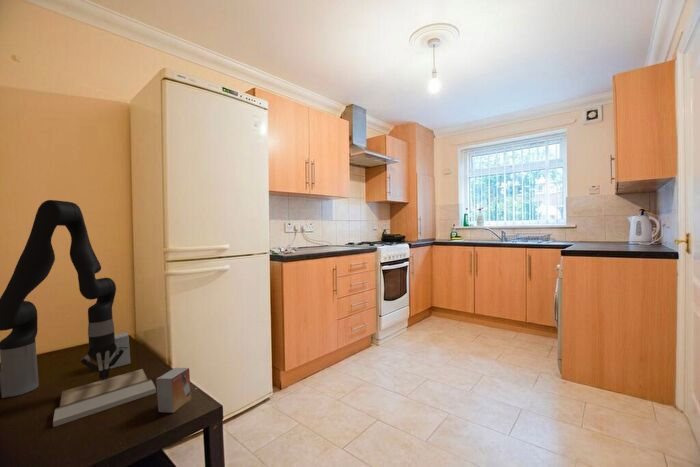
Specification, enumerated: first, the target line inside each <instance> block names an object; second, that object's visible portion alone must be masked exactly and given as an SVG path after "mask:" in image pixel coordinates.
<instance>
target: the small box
mask: <svg viewBox="0 0 700 467" xmlns="http://www.w3.org/2000/svg"><path fill="white" fill-rule="evenodd" d="M190 378H191V375H190V367H174V368H172V369H171V370H169V371H168V372H165V373H163V374H162V375H160V376H158V377H156V378H155V380H156V382H155V383H156V394H157V396H156V397H157V409H158V412H159V413H170V414H171V413H175V412H176V411H177V410H179V409H180V408H181V407H183V406H185V405H186V404H187V403H188V402H190V401H191V400H192V393H191V392H192V390H191V379H190Z"/></svg>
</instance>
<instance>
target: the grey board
mask: <svg viewBox="0 0 700 467" xmlns="http://www.w3.org/2000/svg"><path fill="white" fill-rule="evenodd" d="M153 394H157V387H156V385H155V384H154V382H153V380H152V379H148V380H147V381H143V382H140V383H137V384H134V385H130V386H127V387H124V388H121V389H117V390H114V391H111V392H108V393H104V394H101V395H98V396H94V397H91V398H88V399H85V400H81V401H78V402H75V403H72V404H68V405H65V406H62V407H60V406H59V407H56V408H55V409H54V414H53V420H52V425H53V426H52V428H54V427H55V428H56V427H58V426H60V425H64V424H67V423H70V422H73V421H76V420H79V419H82V418H84V417H87V416H91V415H94V414H97V413H101V412H103V411H105V410H108V409H112V408H115V407H117V406H121V405H124V404H126V403H129V402H132V401H135V400H139V399H141V398H144V397H147V396H150V395H153Z"/></svg>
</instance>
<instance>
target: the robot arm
mask: <svg viewBox="0 0 700 467" xmlns="http://www.w3.org/2000/svg"><path fill="white" fill-rule="evenodd" d="M85 222H86V221H85V218H84V215H83V213H82V209H81V208H80V206H79V205H78V204H77V203H75V202H71V201H66V200H65V201H64V200H57V199H56V200H55V199H47V200H45V201H43V202H42V203H41V204H40V205H39V207H38V209H37V211H36V214H35V218H34V220H33V223H32V227H31V230H30V233H29V236H28V238H27V241H26V244H25V245H24V249H23V250H22V252H21V255H20V257H19V258H18V261H17V262H16V265H15V268H14V271H13V273H12V275H11V277H10V280H9V281H8V283H7V285H6V288H5V290H4V291H3V292H2V295H1V296H0V332H1V331H2V332H3V331H9V330H11V332H10V333H9V334H8V335H6V336H5V337H4V338H3V339H2V340H0V390H1V391H0V392H1V399H4V398H5V399H6V398H11V397H16V396H21V395H24V394H27V393H30V392H31V391H34V390H36V389H37V388H38V387H39V386H40V385H39V369H38V358H37V345H36V344H37V343H36V342H37V341H36V337H37V335H38V330H39V329H38V310H37V308H36V305H35V304H34V303H33V302H32V301H29V300H25V299H26V298H27V297H28V296H29V294H30V293H31V292H33V291H34V290H35V289H36V288H37V287H38V286H39V285H40V284H41V283H43V281H44V280H46V278H47V277H49V274H50V272H51V270H52V268H53V266H54V263H55V260H56V255H55V250H54V248H53V243H52V238H53V234H54V233H55V231H56V228H57V227H60V226H63V227H66V230H67V231H68V232H69V234H70V240H71V241H70V248H69V257H70V261H71V263H72V265H73V266H74V269H75V271H76V272H77V280H78V289H79V290H78V291H79V293H80V294H81V296H82V297H83V298H84V299H86V300H90V301H91V300H96V301H95V303H94V304H93V305H91V306H89V307H88V309H87V317H88V318H87V320H88V326H87V336H88V351H87V354H86V355H85V356H83V357H82V358H81V359H80V362H81V363H82V364H83V365H85V366H86V367H87V368H89V369H90V370H91V371H98V377H99V380H105V379H108V378H109V377H110V367H111V366H114V365H115V363H116V362H117V360H118V359H119V358H120V356H121V355H122V354H123V352H124V351H123V349H119V348H117V346H116V345H115V335H116V334H115V324H114V318H113V305H114V302H115V297H116V292H117V286H116V282H115V281H114V280H113V279H112V278H110V277H101V278H96V274H99V272H101V271H102V265H101V263H100V261H99V259H98V257H97V255H96V254H95V251H94V249H93V246H92V244H91V240H90V238H89V234H88V228H87V226H86V223H85ZM115 351H116V352H115ZM114 352H115V354H116V355H115V357H114V358H113V359H112V361H111V362H110V363H109V358H110V357H111V356H112V355H113V353H114ZM91 359H92V360H94V362H97V365H96V364H94V363H93V362H92V361H91ZM103 361H104V362H103ZM103 363H104V365H103Z"/></svg>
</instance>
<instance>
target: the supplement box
mask: <svg viewBox="0 0 700 467" xmlns="http://www.w3.org/2000/svg"><path fill="white" fill-rule="evenodd" d="M114 335H115V345H116V346H117V348H119V349H123V351H124V352H123V354H122V355H121V356H120V358H119V359H118V360H117V362H116V363H115V365H114V366H111V367H110V368H109V370H111V369H114V368H115V369H116V368H118V367H121V366H126V365H130V364H131V354H130V352H131V351H130V338H129V337H130V336H129V332H122V333H118V334H114ZM115 352H116V351H115ZM115 352H114V353H113V355H112V356H111V357H110V358H109V363H110V362H111V361H112V359H113V358H114V357H115V355H116V354H115Z"/></svg>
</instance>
